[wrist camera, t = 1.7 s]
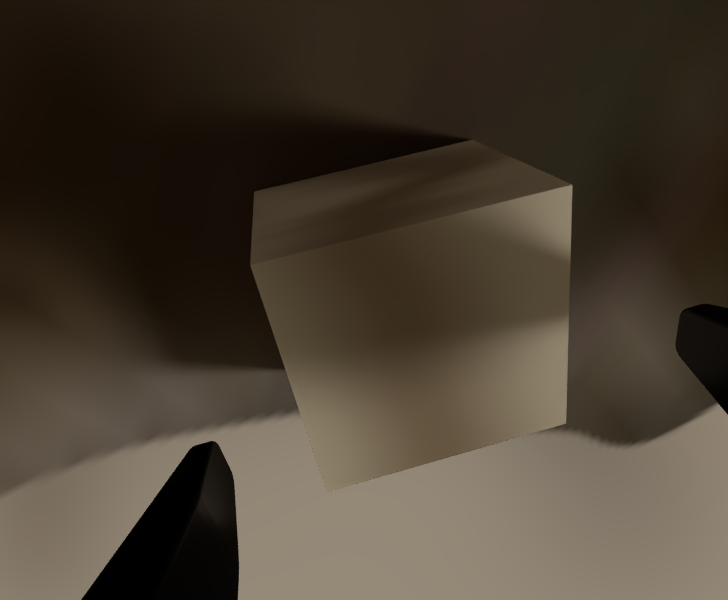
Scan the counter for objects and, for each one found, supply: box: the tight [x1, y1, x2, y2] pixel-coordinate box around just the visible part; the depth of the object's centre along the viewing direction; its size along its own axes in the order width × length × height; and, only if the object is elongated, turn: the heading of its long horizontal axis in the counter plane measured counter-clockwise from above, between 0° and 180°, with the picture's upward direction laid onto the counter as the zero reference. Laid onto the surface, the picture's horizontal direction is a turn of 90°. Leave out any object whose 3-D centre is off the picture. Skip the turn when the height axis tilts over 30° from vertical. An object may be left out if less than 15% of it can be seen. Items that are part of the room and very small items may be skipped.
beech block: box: [250, 140, 572, 492], centre depth 12 cm, size 6×6×5 cm
